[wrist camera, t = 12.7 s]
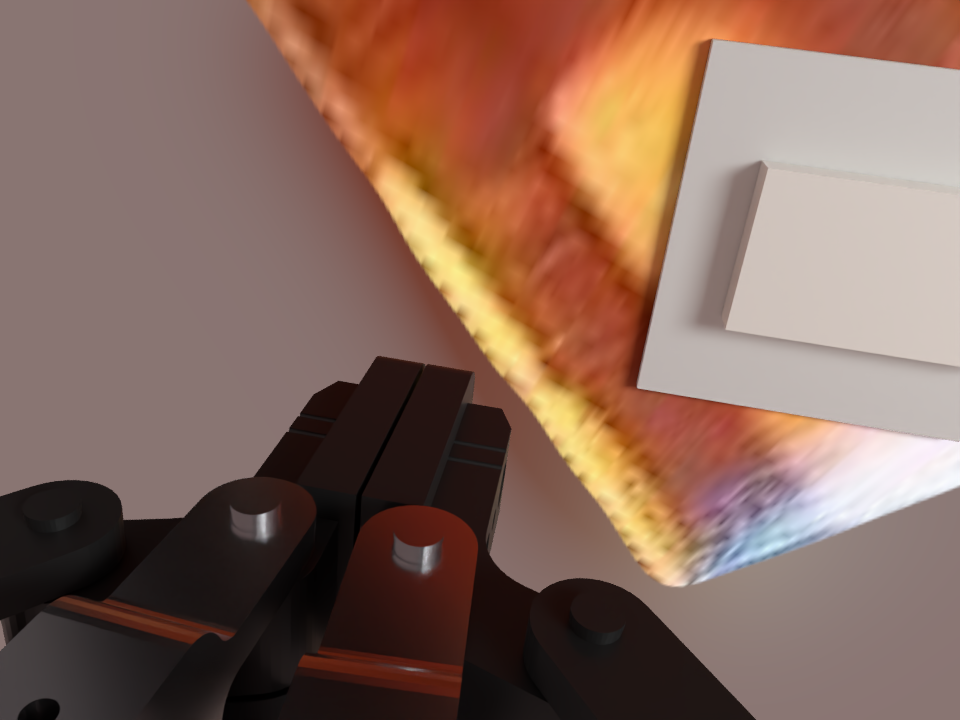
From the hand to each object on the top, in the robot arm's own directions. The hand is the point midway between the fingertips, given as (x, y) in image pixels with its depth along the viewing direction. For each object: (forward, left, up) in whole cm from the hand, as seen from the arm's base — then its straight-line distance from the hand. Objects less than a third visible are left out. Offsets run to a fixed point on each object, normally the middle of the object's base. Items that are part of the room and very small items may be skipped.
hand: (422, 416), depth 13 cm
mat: (+6, +16, -35) cm, 39 cm away
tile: (+6, +11, -33) cm, 35 cm away
